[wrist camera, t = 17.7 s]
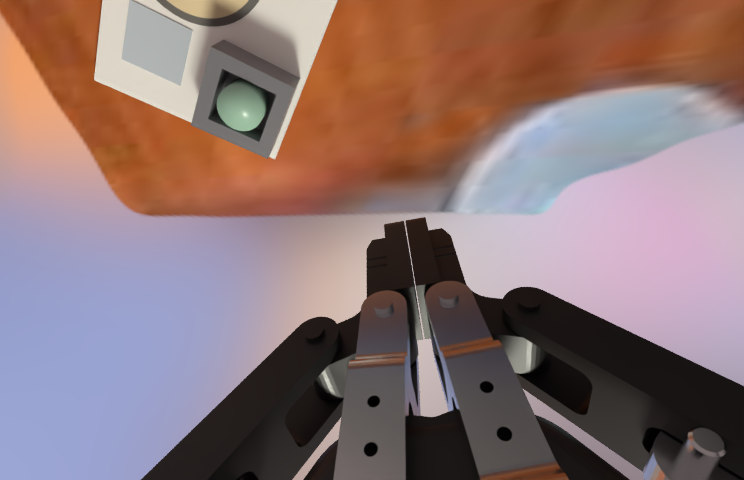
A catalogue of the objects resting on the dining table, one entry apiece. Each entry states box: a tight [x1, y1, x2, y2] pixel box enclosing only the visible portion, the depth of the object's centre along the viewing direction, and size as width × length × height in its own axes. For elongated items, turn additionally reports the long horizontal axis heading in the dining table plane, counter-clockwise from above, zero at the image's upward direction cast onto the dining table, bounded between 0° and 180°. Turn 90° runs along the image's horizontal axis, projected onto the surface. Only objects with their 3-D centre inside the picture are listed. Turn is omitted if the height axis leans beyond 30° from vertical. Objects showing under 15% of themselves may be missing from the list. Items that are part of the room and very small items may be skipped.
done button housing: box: [191, 40, 300, 159], centre depth 35 cm, size 7×7×4 cm
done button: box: [217, 78, 269, 131], centre depth 34 cm, size 4×4×3 cm
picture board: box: [94, 0, 338, 159], centre depth 33 cm, size 20×17×1 cm
